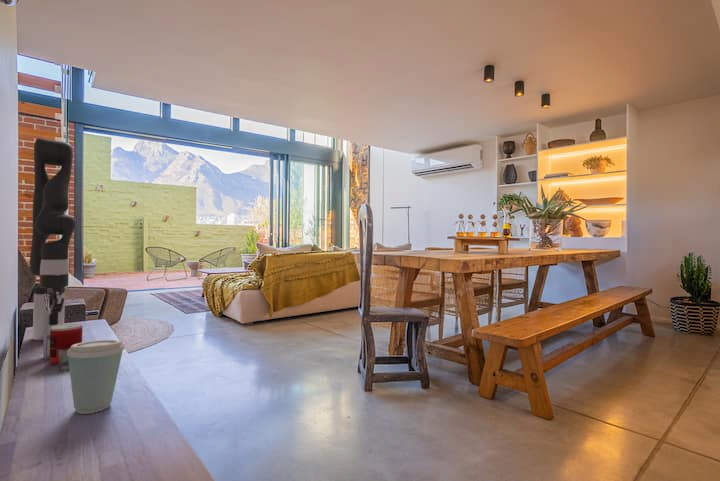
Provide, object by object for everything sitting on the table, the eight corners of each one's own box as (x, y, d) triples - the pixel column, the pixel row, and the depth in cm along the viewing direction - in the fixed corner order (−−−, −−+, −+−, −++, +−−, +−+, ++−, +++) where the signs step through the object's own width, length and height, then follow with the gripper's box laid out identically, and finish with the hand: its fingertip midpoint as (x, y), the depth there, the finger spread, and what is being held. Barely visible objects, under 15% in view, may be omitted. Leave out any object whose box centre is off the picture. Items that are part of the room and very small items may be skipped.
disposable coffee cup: (65, 405, 85) (67, 339, 85) (121, 394, 92) (122, 333, 92) (64, 423, 77) (66, 350, 77) (125, 410, 83) (127, 342, 83)
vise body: (55, 368, 110) (55, 349, 110) (88, 361, 117) (89, 343, 117) (61, 372, 106) (61, 353, 106) (95, 365, 113) (96, 347, 113)
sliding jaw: (38, 353, 123) (38, 330, 124) (64, 349, 129) (64, 327, 129) (46, 359, 118) (46, 335, 118) (73, 354, 123) (73, 331, 123)
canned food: (87, 358, 120) (88, 323, 120) (66, 366, 112) (67, 329, 112) (65, 357, 120) (65, 322, 121) (42, 365, 112) (43, 328, 113)
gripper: (34, 272, 127) (33, 324, 127) (46, 274, 119) (44, 329, 119) (62, 271, 133) (60, 320, 132) (74, 273, 125) (73, 325, 124)
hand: (53, 324), depth 125 cm, fingers closed
